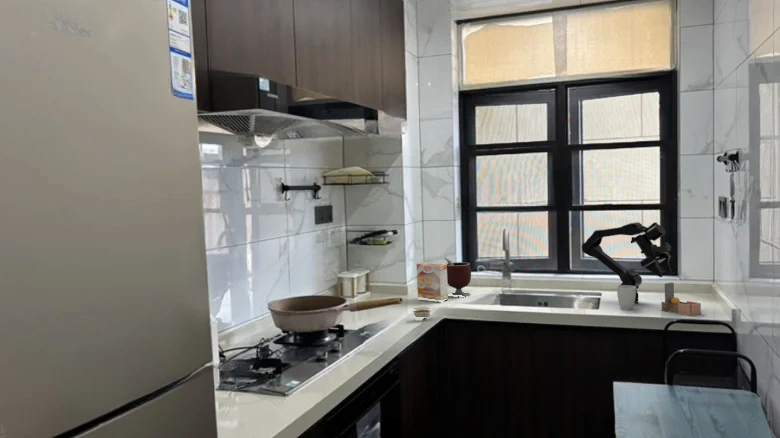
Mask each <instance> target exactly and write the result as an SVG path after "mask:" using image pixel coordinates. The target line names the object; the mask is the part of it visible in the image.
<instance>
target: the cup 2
mask: <svg viewBox="0 0 780 438" xmlns="http://www.w3.org/2000/svg"><path fill="white" fill-rule="evenodd" d="M686 303H687V304H682V303H678V313H677V314H679V315H684V314H685V315H686V316H692V317H693V316H695V315H700V313H702V312H701V311H702V310H701V309H702V308H701V305H702V303H701V302H696V301H689V300H687V301H686Z"/></svg>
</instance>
